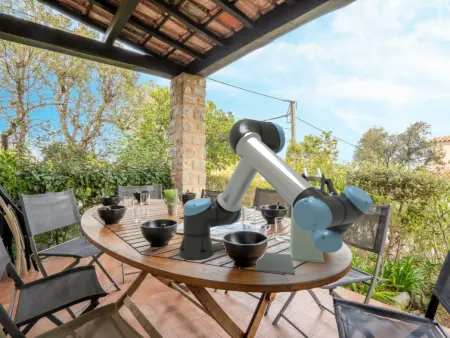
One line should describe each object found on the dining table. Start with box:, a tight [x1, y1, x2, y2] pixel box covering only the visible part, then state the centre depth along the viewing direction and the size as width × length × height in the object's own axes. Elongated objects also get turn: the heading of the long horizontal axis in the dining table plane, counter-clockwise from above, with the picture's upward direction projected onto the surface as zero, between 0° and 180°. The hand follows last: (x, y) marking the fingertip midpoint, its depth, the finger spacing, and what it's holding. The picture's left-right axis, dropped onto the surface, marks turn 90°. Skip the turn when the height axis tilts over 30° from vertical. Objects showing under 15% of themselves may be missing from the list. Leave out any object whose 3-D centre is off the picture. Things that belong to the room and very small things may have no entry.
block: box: [307, 173, 321, 182], centre depth 101 cm, size 4×21×2 cm, turn 169°
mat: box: [255, 252, 296, 276], centre depth 98 cm, size 14×18×1 cm
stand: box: [288, 185, 326, 264], centre depth 106 cm, size 13×14×30 cm
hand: (311, 170), depth 98 cm, fingers closed on block, 4 cm apart
